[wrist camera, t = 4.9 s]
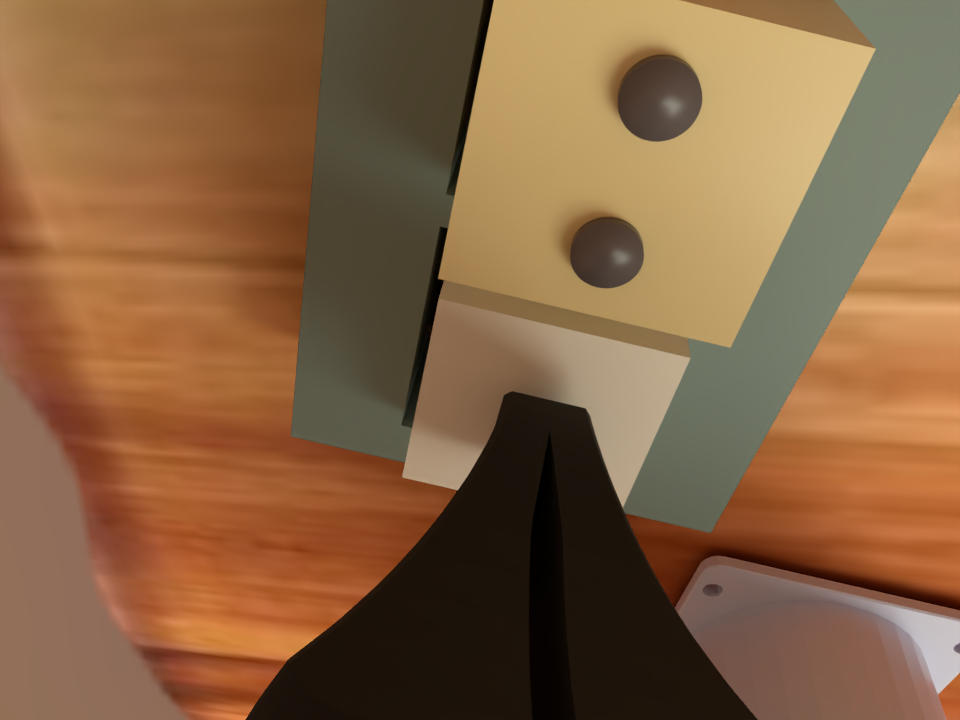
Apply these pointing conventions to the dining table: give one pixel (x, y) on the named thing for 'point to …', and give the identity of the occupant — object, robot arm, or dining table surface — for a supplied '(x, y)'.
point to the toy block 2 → (537, 380)
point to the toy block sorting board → (428, 205)
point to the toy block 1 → (646, 152)
